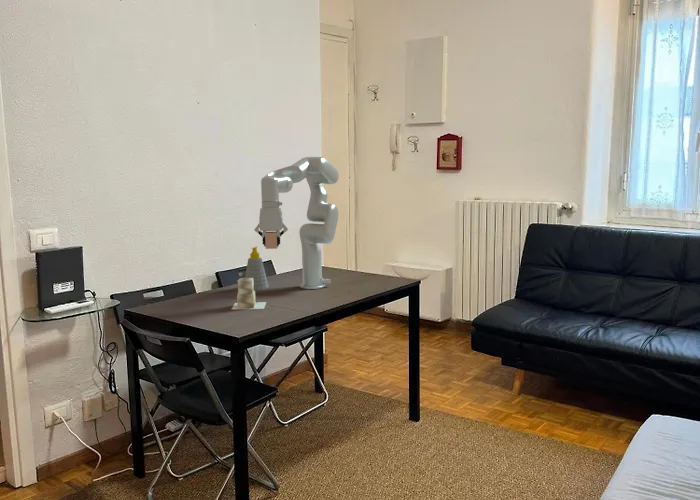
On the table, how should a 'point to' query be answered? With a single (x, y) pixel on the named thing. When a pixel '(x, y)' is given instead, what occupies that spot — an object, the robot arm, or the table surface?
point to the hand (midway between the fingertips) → (271, 245)
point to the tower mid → (245, 286)
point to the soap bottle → (256, 271)
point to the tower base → (246, 300)
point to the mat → (257, 306)
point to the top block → (271, 240)
